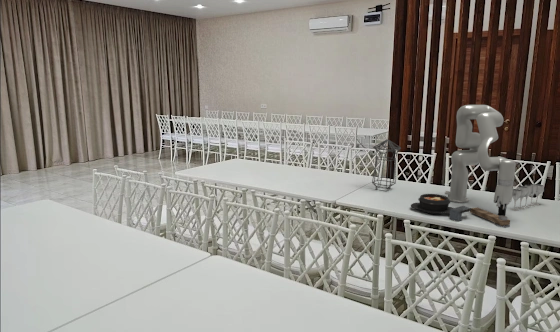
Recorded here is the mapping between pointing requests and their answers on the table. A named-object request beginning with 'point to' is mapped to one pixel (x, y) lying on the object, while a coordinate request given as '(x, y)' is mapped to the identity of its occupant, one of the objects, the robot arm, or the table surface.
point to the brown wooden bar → (491, 216)
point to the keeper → (458, 212)
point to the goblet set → (526, 194)
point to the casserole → (433, 204)
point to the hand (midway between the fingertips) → (501, 215)
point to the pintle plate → (502, 225)
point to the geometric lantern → (385, 160)
